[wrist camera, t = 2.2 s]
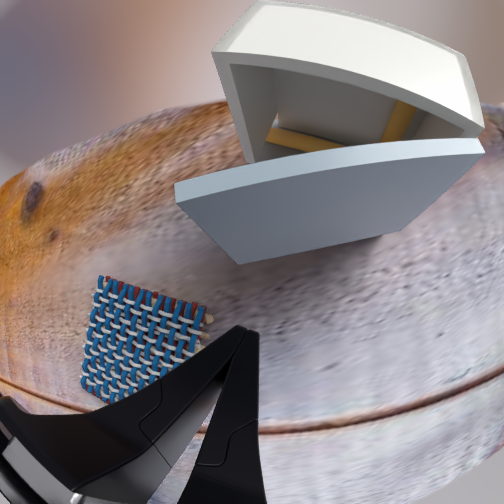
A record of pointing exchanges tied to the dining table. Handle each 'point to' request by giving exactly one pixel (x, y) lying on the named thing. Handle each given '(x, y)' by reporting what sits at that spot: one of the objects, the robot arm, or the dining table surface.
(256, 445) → the robot arm
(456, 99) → the box
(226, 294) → the dining table surface
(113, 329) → the woven mat
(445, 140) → the box door
